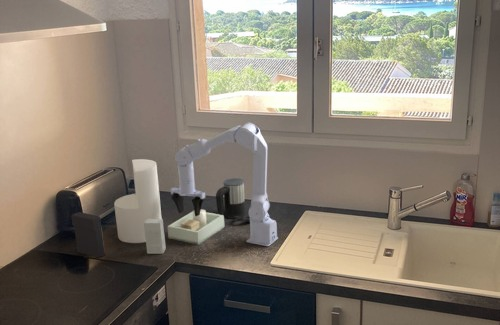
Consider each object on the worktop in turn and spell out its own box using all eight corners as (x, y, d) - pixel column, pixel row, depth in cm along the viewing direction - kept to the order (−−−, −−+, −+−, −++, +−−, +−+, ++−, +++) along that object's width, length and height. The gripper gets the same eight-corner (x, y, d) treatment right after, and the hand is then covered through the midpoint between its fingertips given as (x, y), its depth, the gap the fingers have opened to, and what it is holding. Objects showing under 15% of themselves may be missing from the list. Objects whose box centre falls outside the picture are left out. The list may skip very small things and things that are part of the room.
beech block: (199, 233, 208) (198, 221, 206) (192, 238, 203) (191, 226, 202) (189, 231, 210) (188, 219, 209) (181, 236, 206) (180, 223, 204)
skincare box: (166, 248, 197) (163, 218, 194) (163, 254, 193) (160, 223, 190) (149, 248, 198) (146, 218, 195) (146, 254, 194) (143, 223, 191)
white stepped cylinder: (160, 222, 222) (154, 157, 214) (165, 239, 206) (158, 169, 198) (117, 228, 218) (109, 162, 210) (118, 245, 202) (110, 174, 194)
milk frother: (231, 209, 233) (229, 176, 229) (263, 214, 226) (262, 180, 222) (214, 221, 221) (211, 187, 217) (248, 227, 214) (246, 191, 210)
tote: (224, 227, 214) (223, 215, 213) (198, 244, 200) (197, 232, 198) (195, 221, 221) (194, 210, 220) (168, 238, 206) (167, 226, 205)
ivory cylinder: (209, 226, 214) (208, 210, 212) (203, 231, 209) (202, 214, 207) (198, 225, 216) (196, 208, 214) (192, 229, 211) (190, 213, 209)
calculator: (106, 254, 195) (101, 215, 191) (97, 258, 192) (92, 219, 188) (85, 248, 201) (79, 210, 197) (76, 253, 197) (70, 214, 193)
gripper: (164, 180, 201) (167, 214, 205) (196, 185, 194) (199, 220, 198) (175, 175, 207) (178, 208, 210) (207, 179, 200) (209, 213, 203)
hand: (189, 213), depth 204 cm, fingers open, 7 cm apart
